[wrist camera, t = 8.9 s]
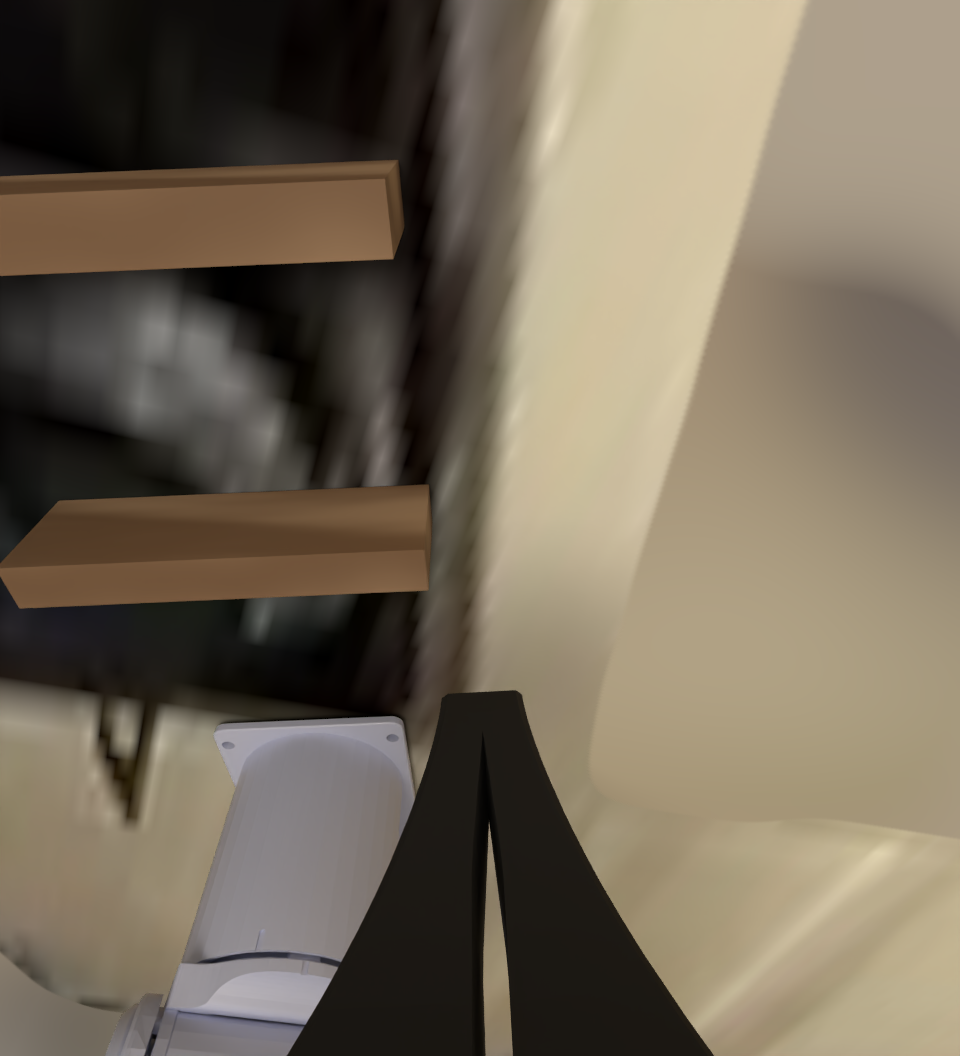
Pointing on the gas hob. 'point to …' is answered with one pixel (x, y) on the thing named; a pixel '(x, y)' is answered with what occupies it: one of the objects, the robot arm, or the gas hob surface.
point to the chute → (232, 518)
